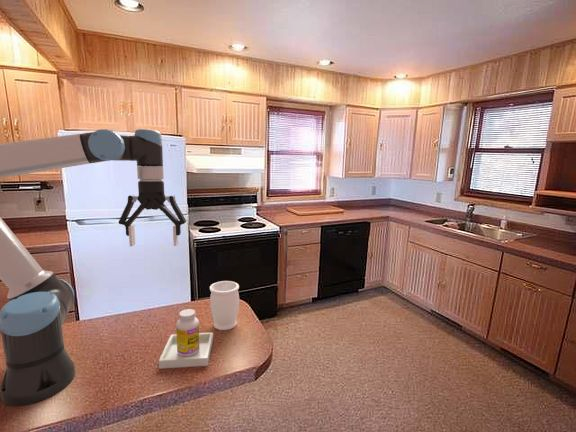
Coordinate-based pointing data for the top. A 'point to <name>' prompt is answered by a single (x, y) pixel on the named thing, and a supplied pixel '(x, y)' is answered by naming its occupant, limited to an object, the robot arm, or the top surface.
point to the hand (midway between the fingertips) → (154, 245)
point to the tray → (174, 360)
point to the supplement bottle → (187, 333)
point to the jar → (224, 304)
